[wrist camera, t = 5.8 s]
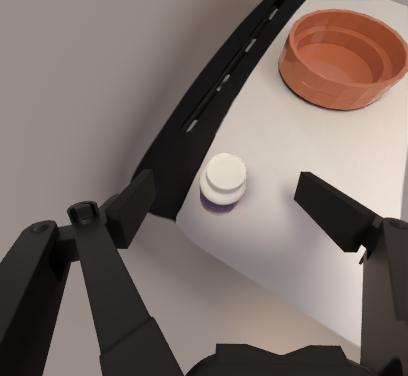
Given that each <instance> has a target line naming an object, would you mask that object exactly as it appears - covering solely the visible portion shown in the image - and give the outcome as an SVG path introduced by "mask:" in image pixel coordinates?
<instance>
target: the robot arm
mask: <svg viewBox="0 0 408 376" xmlns="http://www.w3.org/2000/svg"><path fill="white" fill-rule="evenodd" d="M155 198H156V192H155V184H154V176H153V170H146V169H144V170H143V171H142V172H141V173H140V174H139V175H138V176H137V177H136V178H135V179H134V180H133V181H132V182H131V183H130V184H129V185H128V187H126V188H125V189H124V191H123V192H122V193H121V194H116V195H114V196H112V197H110V198H109V199H108V200H107V201H106V202H105V203H104V204H103V205H102V206H100V207H99V208H98V207H97V203H96V202H94V201H84V202H79V203H76V204H74V205H72V206H70V207H69V208H68V210H67V213H68V216H69V218H70V221H71V223H72V225H69V226H63V227H57V224H56V222H55V221H51V220H47V221H42V222H37V223H35V224H32V225H31V226H29V227H27V228H26V229H25V230H23V231H22V233H21V234H20V236H19V237H18V239H17V240H16V241H15V243H14V244H13V246H12V247H11V249H10V250H9V251H8V253H7V254H6V256H5V257H4V258H3V260H2V262H1V263H0V376H42V375H43V371H44V367H45V363H46V360H47V355H48V351H49V347H50V344H51V340H52V335H53V332H54V328H55V324H56V320H57V316H58V312H59V308H60V304H61V300H62V296H63V292H64V288H65V285H66V280H67V277H68V273H69V268H70V265H71V262H75V261H79V260H80V262H81V267H82V271H83V276H84V280H85V285H86V289H87V293H88V298H89V302H90V307H91V311H92V316H93V320H94V325H95V329H96V333H97V338H98V342H99V346H100V353H101V354H100V364H101V370H102V375H103V376H184V374H183V373H182V371H181V369H180V367H179V365H178V363H177V361H176V359H175V357H174V355H173V353H172V351H171V349H170V347H169V345H168V343H167V342H166V340H165V338H164V336H163V334H162V332H161V330H160V328H159V326H158V324H157V322H156V320H155V319H154V318H153V317H151V316H150V315H149V313H148V311H147V309H146V307H145V305H144V303H143V301H142V299H141V297H140V295H139V293H138V291H137V289H136V287H135V285H134V283H133V281H132V279H131V277H130V275H129V273H128V271H127V269H126V267H125V265H124V263H123V261H122V259H121V257H120V255H119V253H118V251H117V249H128V247H129V245H130V243H131V241H132V240H133V238H134V236H135V234H136V232H137V231H138V229H139V227H140V225H141V223H142V222H143V220H144V218H145V216H146V214H147V213H148V211H149V209H150V207H151V205H152V203H153V202H154V200H155ZM294 200H295V201H296V202H297V203H298V204H299V205H300V206H301V207H302V208H303V209H304V210H305V211H306V212H307V214H308V215H309V216H310V217H311V218H312V219H313V220H314V221H315V222H316V223H317V224H318V225H319V226H320V227H321V228H322V229H323V230H324V231H325V233H326V234H327V235H328V236H329V237H330V238H331V239H332V240H333V241H334V242H335V243H336V244H337V245H338V246H339V247H340V248H341V249H342V250H343V251H344V252H357V251H358V250H359V248H360V246H361V244H362V245H363V246H364V247H365V248H366V251H365V253H364V255H363V256H362V258H361V260H360V262H359V264H360V265H361V264H362V263H363V294H362V328H361V359H360V364H358V363H356V362H354V361H352V360H349V359H347V358H346V355H345V354H344V352H343V350H342V349H341V347H340V346H321V345H317V346H316V345H309V346H306V347H304V348H301V349H298V350H296V351H293V352H290V353H288V354H285V355H278V354H275V353H271V352H269V351H265V350H263V349H260V348H257V347H254V346H251V345H248V344H216V353H215V354H213V355H211V356H208V357H206V358H205V359H203V360H201V361H200V362H198V363H197V364H196V365H195V366H194V367H193V368H192V369H191V370H190V371H189V372H188V373H187V374H186V375H185V376H408V223H407V222H405V221H402V220H399V219H395V218H383V217H381V216H379V215H378V214H376V213H375V212H373V211H371V210H370V209H368V208H367V207H365V206H363V205H362V204H360V203H359V202H357V201H356V200H354V199H352V198H351V197H349V196H347V195H346V194H344V193H343V192H341V191H339V190H338V189H336V188H335V187H333V186H331V185H330V184H328V183H327V182H325V181H324V180H322V179H320V178H319V177H317V176H316V175H314V174H312V173H311V172H301V174H300V177H299V181H298V185H297V189H296V192H295V196H294Z"/></svg>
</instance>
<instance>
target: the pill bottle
mask: <svg viewBox="0 0 408 376" xmlns="http://www.w3.org/2000/svg"><path fill="white" fill-rule="evenodd" d="M246 174H247V171H246V166H245V164H244V162H243V161H242V160H241V159H240V158H239V157H238V156H236V155H234V154H231V153H220V154H217V155H215V156H214V157H212V158H211V159H210V161H209V162H208V164H207V166H206V167H205V168H204V169H203V171H202V173H201V175H200V200H201V203H202V206H203V207H204V209H205V210H206V211H207V212H209V213H211V214H213V215H225V214H227V213H229V212H230V211H231V210H232V209H233V208H234V207H235V206H236V204H237V203H238V201H239V200H240V198H241V197H242V196H243V194H244V192H245V190H246V186H247V180H246Z"/></svg>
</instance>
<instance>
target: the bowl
mask: <svg viewBox="0 0 408 376" xmlns="http://www.w3.org/2000/svg"><path fill="white" fill-rule="evenodd" d="M279 70H280V72H281V74H282V77H283V79H284V81H285V82H286V83H287V84H288V86H289V87H290V88H291V89H292V90H293V91H294V92H295V93H296V94H298V95H300V96H301V97H303V98H304V99H306V100H308V101H309V102H311V103H314V104H317V105H320V106H323V107H326V108H333V109H342V110H350V109H356V108H363V107H365V106H367V105H369V104H371V103H373V102H374V101H376V100H377V99H378V98H380V97H381V96H382V95H383V94H384V93H385V92H387V91H388V90H389V89H390V88H391V87H392V86H394V85H395V84H396V83H397V82H398V81H399V80H401V79H402V78H403V76H404V75H405V74H406V73H407V71H408V45H407V43H406V42H405V41H404V39H403V38H402V37H401V36H400V35H399V34H398V33H397V32H396V31H395V30H394V29H392V28H391V27H389V26H388V25H387V24H385V23H384V22H382V21H380V20H377V19H375V18H373V17H371V16H368V15H366V14H362V13H358V12H354V11H349V10H340V9H327V10H318V11H315V12H312V13H309V14H306V15H304V16H302V17H301V18H300V19H299V20H297V21H296V22H295V23H294V25H293V27H292V29H291V31H290V33H289V35H288V38H287V40H286V43H285V45H284V48H283V50H282V53H281V55H280V58H279Z"/></svg>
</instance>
